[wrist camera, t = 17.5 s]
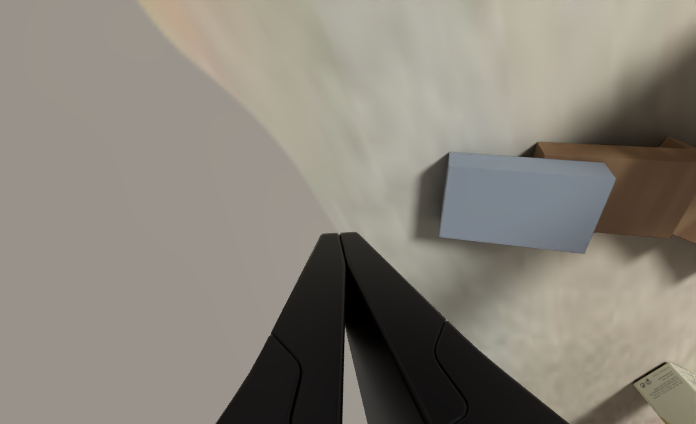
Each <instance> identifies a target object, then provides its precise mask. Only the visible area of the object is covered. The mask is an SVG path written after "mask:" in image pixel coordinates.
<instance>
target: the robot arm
mask: <svg viewBox="0 0 696 424" xmlns="http://www.w3.org/2000/svg"><path fill="white" fill-rule="evenodd" d="M445 321H446V319H445V318H444V317H443V316H442V315H441V314H440V313H439V312H438V311H437V310H436V309H435V308H434V307H433V306H432V305H431V304H430V303H429V302H428V301H427V300H426V299H425V298H424V297H423V296H422V295H421V294H420V293H419V292H418V291H417V290H416V289H415V288H414V287H413V286H412V285H411V284H409V283H408V282H407V281H406V280H405V279H404V278H403V277H402V276H401V275H400V274H399V273H398V272H397V271H396V270H395V269H394V268H393V267H392V266H391V265H390V264H389V263H388V262H387V261H386V260H385V259H384V258H383V257H382V256H381V255H380V254H379V253H378V252H377V251H376V250H375V249H374V248H373V247H372V246H371V245H370V244H369V243H368V242H367V241H365V240H364V239H363V238H362V237H361V236H360V235H359V234H358V233H357V232H346V233H341V234H340V235H339V234H337V233H326V234H322V235H321V236H320V238H319V240H318V242H317V244H316V246H315V248H314V250H313V252H312V253H311V255H310V257H309V259H308V261H307V263H306V265H305V267H304V269H303V271H302V273H301V275H300V277H299V279H298V281H297V283H296V285H295V287H294V289H293V291H292V293H291V295H290V297H289V299H288V300H287V303H286V305H285V306H284V308H283V310H282V312H281V314H280V316H279V318H278V320H277V322H276V324H275V326H274V328H273V330H272V332H271V335H270V336H269V337H268V339H267V341H266V343H265V345H264V347H263V349H262V351H261V353H260V355H259V356H258V358H257V360H256V362H255V364H254V365H253V367H252V369H251V371H250V373H249V374H248V376H247V377H246V379H245V380H244V382H243V384H242V385H241V387H240V388H239V390H238V391H237V393H236V394H235V396H234V397H233V399H232V401H231V402H230V403H229V405H228V406H227V408H226V409H225V411H224V412H223V414H222V415H221V417H220V418H219V419H218V421H217V423H216V424H342V413H343V410H342V409H343V374H344V337H345V328H346V332H347V337H348V341H349V345H350V350H351V354H352V358H353V363H354V367H355V371H356V376H357V380H358V384H359V389H360V393H361V397H362V401H363V406H364V409H365V414H366V419H367V422H368V424H569V423H568V422H567V421H565V420H564V419H563V418H561V417H560V416H559V415H558V414H557V413H555V412H554V411H553V410H552V409H550V408H549V407H548V406H547V405H545V404H544V403H543V402H542V401H540V400H539V399H538V398H537V397H535V396H534V395H533V394H532V393H530V392H529V391H528V390H527V389H525V388H524V387H523V386H522V385H520V384H519V383H518V382H517V381H515V380H514V379H513V378H512V377H510V376H509V375H508V374H507V373H505V372H504V371H503V370H502V369H501V368H499V367H498V366H497V365H496V364H495V363H493V362H492V361H491V360H490V359H489V358H488V357H486V356H485V355H484V354H483V353H482V352H480V351H479V350H478V349H477V348H476V347H475V346H474V345H473V344H472V343H471V342H470V341H468V340H467V339H466V338H465V337H464V336H463V335H462V334H461V333H460V332H459V331H458V330H457V329H456V328H455V327H454V326H453V325H452V324H451V323H450V322H449V321H446V322H445Z"/></svg>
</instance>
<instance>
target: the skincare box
mask: <svg viewBox="0 0 696 424" xmlns="http://www.w3.org/2000/svg"><path fill="white" fill-rule="evenodd" d="M634 386H635V388H636V389H637V390H638V391H639V392H640V394H641V395H642V396H643V397H644V399H645V400H646V401H647V402H648V403H649V405H650V406H651V407H652V408H653V409H654V411H655V412H656V413H657V414H658V416H659V417H660V418H661V419H662V420H663V422H664V423H665V424H696V377H695V376H694V375H693V374H691V373H689V372H688V371H686V370H684V369H682V368H680V367H678V366H676V365H674V364H671V363H667V364H665V365H663V366H662V367H660V368H659V369H657V370H655V371H654V372H652V373H650V374H649V375H647V376H646V377H644V378H642V379H641V380H639V381H637V382H635V383H634Z"/></svg>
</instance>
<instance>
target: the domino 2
mask: <svg viewBox="0 0 696 424" xmlns="http://www.w3.org/2000/svg"><path fill="white" fill-rule="evenodd" d="M533 158H543V159H557V160H572V161H586V162H600V163H605V165H606V166H607V167H608V169H609V170H610V171H611V173H612V174H613V175H614V177H615V178H616V180H615V183H614V185H613V187H612V190H611V192H610V194H609V197H608V199H607V202H606V204H605V206H604V209H603V211H602V213H601V216H600V218H599V220H598V223H597V225H596V227H595V230H594V232H599V233H611V234H623V235H636V236H648V237H660V238H671V236H672V235H673V233H674V231H675V229H676V228H677V226H678V224H679V222H680V221H681V219H682V217H683V215H684V214H685V212H686V210H687V208H688V207H689V205H690V203H691V201H692V200H693V198H694V196H695V194H696V151H695V150H694V149H681V148H660V147H638V146H616V145H595V144H573V143H552V142H537V145H536V149H535V153H534V156H533Z"/></svg>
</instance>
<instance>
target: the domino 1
mask: <svg viewBox="0 0 696 424" xmlns="http://www.w3.org/2000/svg"><path fill="white" fill-rule="evenodd" d="M615 180H616V178H615V177H614V175H613V174H612V173H611V171H610V170H609V169H608V167H607V166H606V165H605V163H600V162H586V161H572V160H557V159H543V158H529V157H514V156H500V155H486V154H471V153H457V152H449V158H448V166H447V173H446V180H445V188H444V195H443V202H442V210H441V217H440V233H439V237H443V238H452V239H460V240H469V241H478V242H487V243H495V244H504V245H513V246H521V247H530V248H539V249H548V250H556V251H565V252H574V253H583V254H584V253H585V251H586V249H587V246H588V244H589V242H590V239H591V237H592V234H593V232H594V230H595V227H596V225H597V223H598V220H599V218H600V216H601V213H602V211H603V209H604V206H605V204H606V202H607V199H608V197H609V194H610V192H611V190H612V187H613V185H614V183H615Z"/></svg>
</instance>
